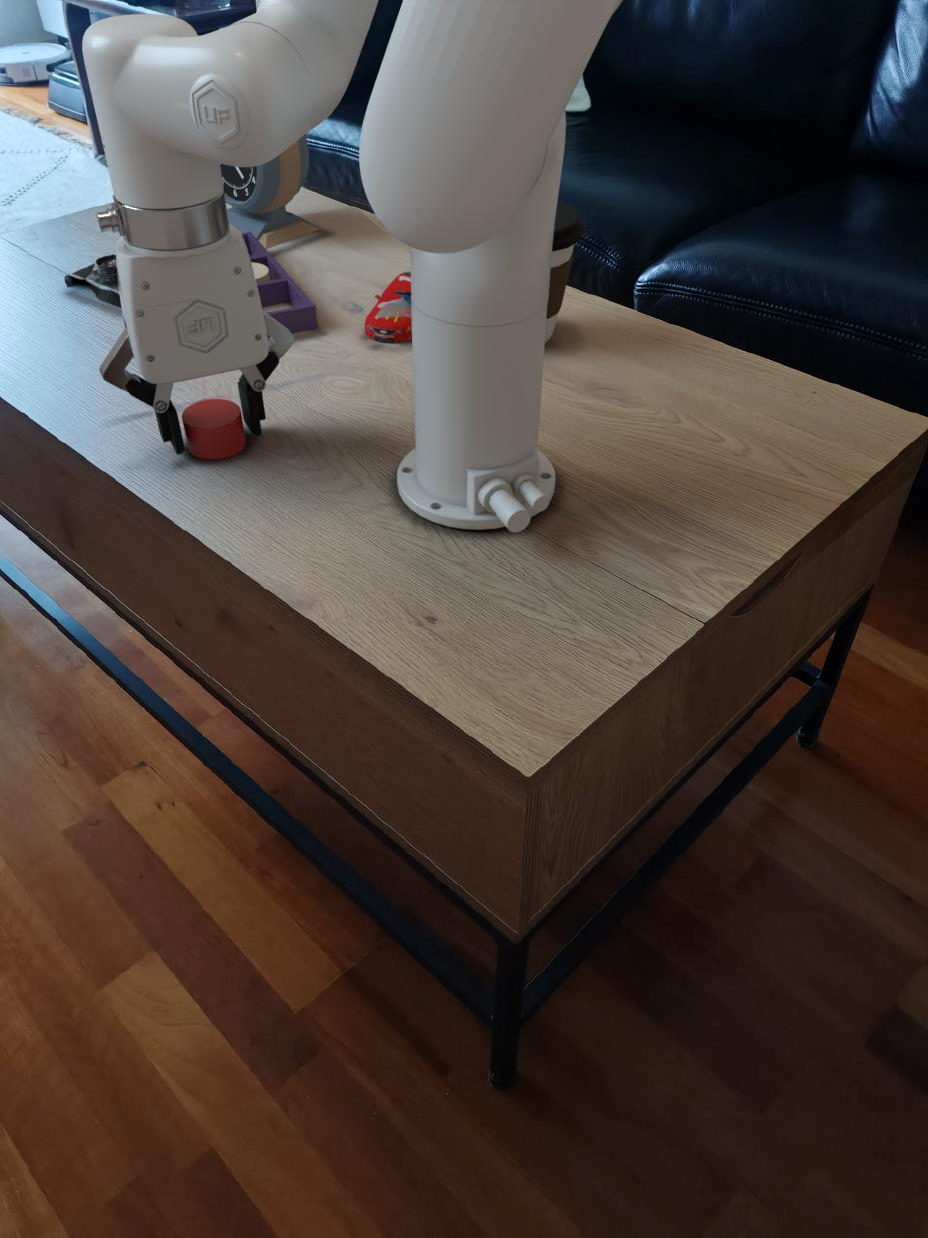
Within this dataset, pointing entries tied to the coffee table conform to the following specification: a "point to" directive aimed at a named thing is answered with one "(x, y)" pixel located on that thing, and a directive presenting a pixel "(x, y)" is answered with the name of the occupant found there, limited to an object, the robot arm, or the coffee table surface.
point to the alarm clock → (268, 196)
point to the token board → (281, 291)
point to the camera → (100, 279)
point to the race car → (392, 313)
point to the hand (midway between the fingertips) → (215, 435)
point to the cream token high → (261, 272)
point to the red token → (214, 429)
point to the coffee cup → (561, 259)
